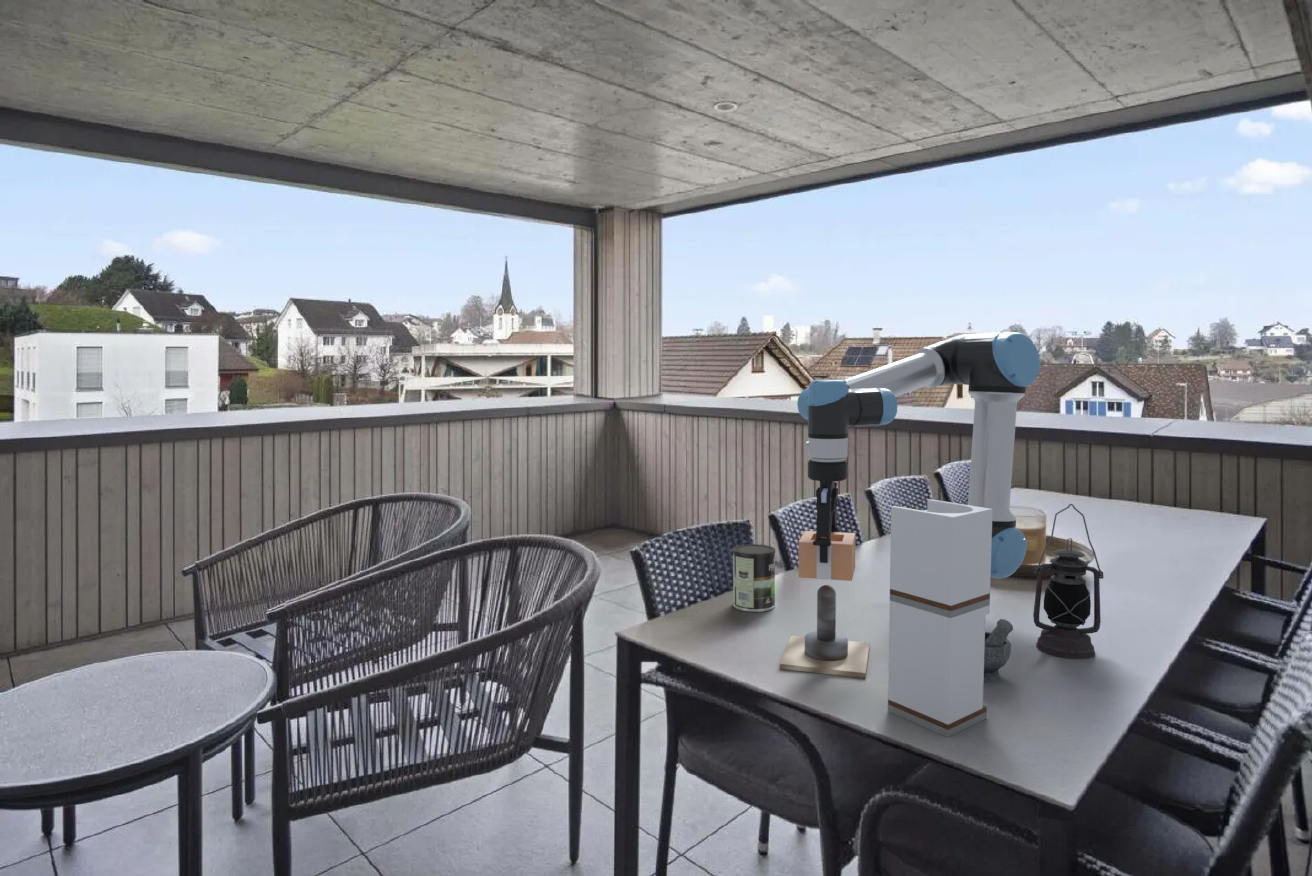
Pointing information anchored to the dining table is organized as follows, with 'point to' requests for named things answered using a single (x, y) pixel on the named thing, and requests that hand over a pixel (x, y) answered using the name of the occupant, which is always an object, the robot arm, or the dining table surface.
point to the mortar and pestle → (996, 649)
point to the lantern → (1067, 603)
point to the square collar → (839, 561)
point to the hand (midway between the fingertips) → (826, 571)
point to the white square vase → (939, 614)
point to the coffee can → (754, 577)
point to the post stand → (826, 645)
